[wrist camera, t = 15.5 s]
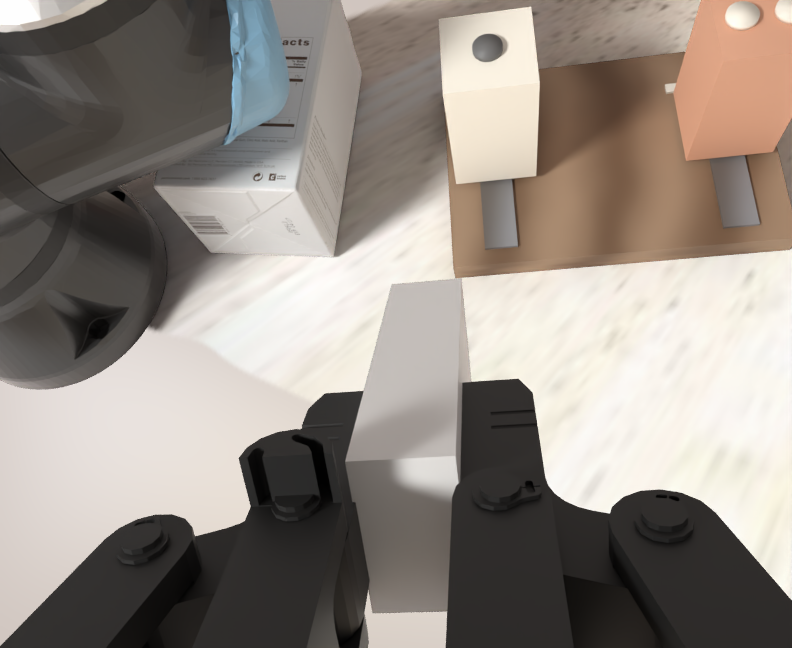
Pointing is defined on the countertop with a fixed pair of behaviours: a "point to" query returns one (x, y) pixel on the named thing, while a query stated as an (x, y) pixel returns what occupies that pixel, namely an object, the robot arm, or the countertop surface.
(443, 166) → the countertop surface
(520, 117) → the tall white pillar
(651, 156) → the walnut track board
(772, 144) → the tall salmon pillar
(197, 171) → the supplement box
